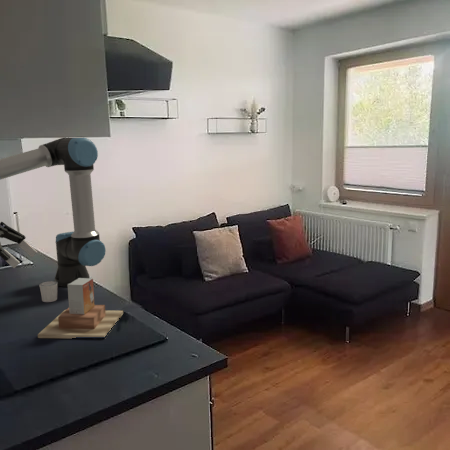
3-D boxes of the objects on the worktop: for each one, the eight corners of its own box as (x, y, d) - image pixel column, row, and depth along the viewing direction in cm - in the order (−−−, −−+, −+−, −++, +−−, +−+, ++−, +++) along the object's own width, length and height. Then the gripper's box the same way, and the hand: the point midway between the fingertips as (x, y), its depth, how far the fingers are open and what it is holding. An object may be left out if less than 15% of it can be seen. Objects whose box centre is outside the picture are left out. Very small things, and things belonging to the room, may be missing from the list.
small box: (84, 315, 152) (82, 285, 150) (68, 314, 153) (66, 284, 151) (95, 306, 159) (93, 278, 158) (80, 305, 160) (78, 277, 158)
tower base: (65, 312, 168) (64, 299, 167) (123, 313, 167) (122, 300, 166) (37, 337, 146) (36, 322, 145) (104, 339, 145) (103, 323, 144)
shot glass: (36, 301, 180) (35, 285, 179) (48, 296, 187) (47, 280, 185) (51, 303, 178) (50, 286, 177) (62, 297, 185) (61, 281, 183)
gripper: (-9, 218, 168) (35, 257, 171) (-50, 233, 144) (1, 278, 147) (4, 204, 167) (47, 243, 170) (-36, 216, 143) (15, 262, 145)
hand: (26, 259), depth 158 cm, fingers open, 13 cm apart
